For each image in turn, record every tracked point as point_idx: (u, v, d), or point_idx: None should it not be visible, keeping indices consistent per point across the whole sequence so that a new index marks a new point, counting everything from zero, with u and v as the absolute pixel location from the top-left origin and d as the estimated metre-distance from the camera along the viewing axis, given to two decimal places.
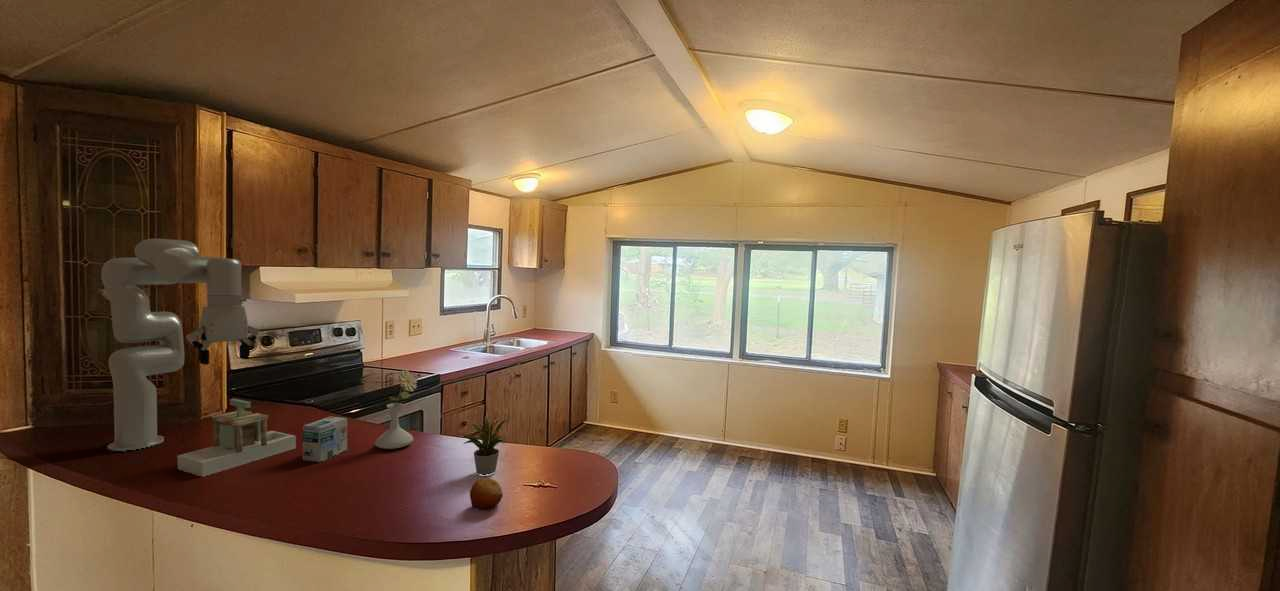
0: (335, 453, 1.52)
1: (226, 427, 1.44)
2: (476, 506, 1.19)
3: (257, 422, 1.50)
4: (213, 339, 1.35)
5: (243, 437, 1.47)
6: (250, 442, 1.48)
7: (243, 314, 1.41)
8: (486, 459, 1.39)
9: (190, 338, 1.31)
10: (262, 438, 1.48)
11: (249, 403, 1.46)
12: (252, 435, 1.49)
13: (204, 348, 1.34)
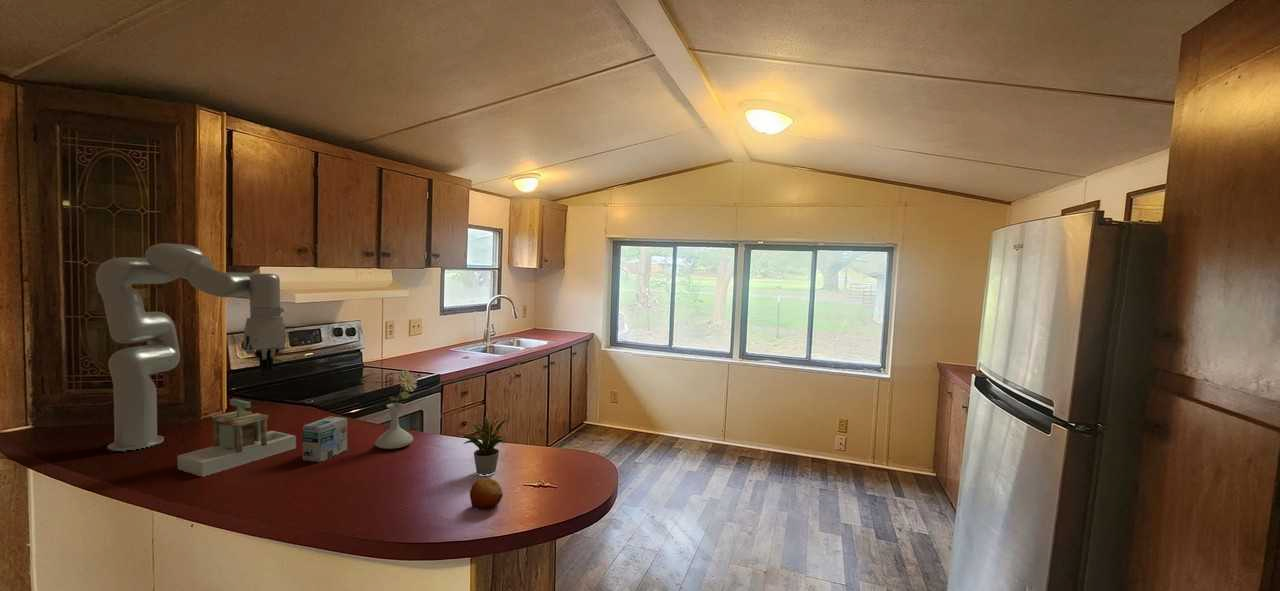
0: (335, 453, 1.52)
1: (226, 427, 1.44)
2: (476, 506, 1.19)
3: (257, 422, 1.50)
4: (257, 347, 1.49)
5: (243, 437, 1.47)
6: (250, 442, 1.48)
7: (282, 324, 1.56)
8: (486, 459, 1.39)
9: (251, 353, 1.49)
10: (262, 438, 1.48)
11: (249, 403, 1.46)
12: (252, 435, 1.49)
13: (265, 357, 1.52)
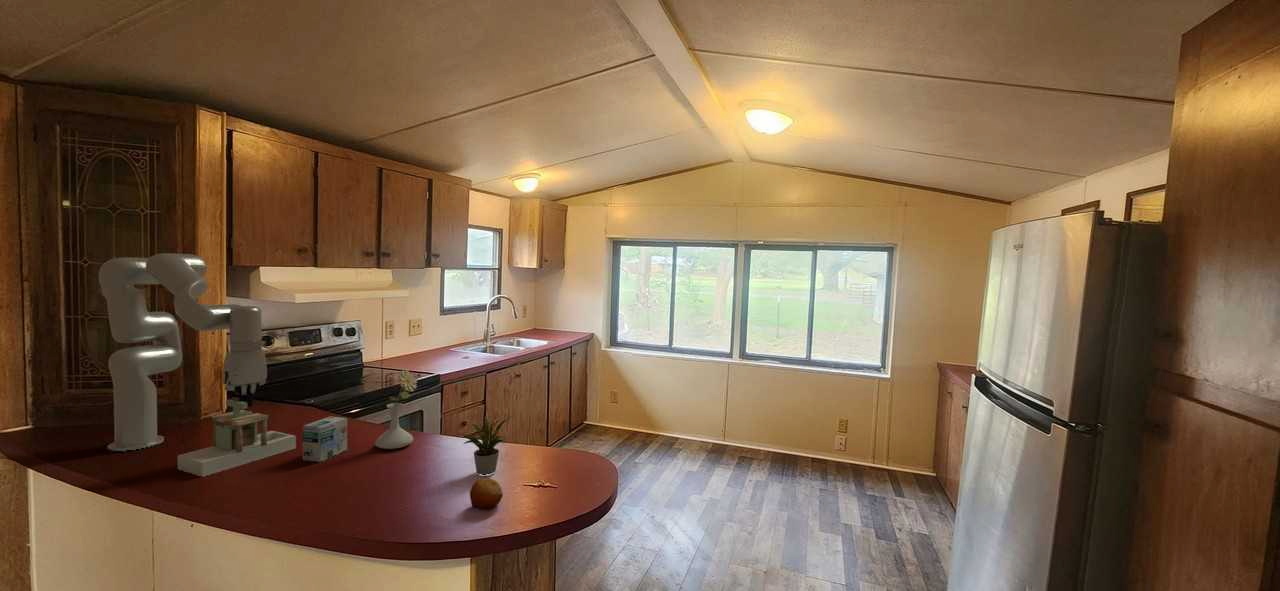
0: (335, 453, 1.52)
1: (222, 428, 1.44)
2: (476, 506, 1.19)
3: (254, 423, 1.49)
4: (236, 383, 1.45)
5: (242, 437, 1.46)
6: (249, 442, 1.48)
7: (263, 358, 1.51)
8: (486, 459, 1.39)
9: (230, 389, 1.44)
10: (262, 438, 1.48)
11: (246, 404, 1.45)
12: (251, 435, 1.49)
13: (244, 393, 1.48)
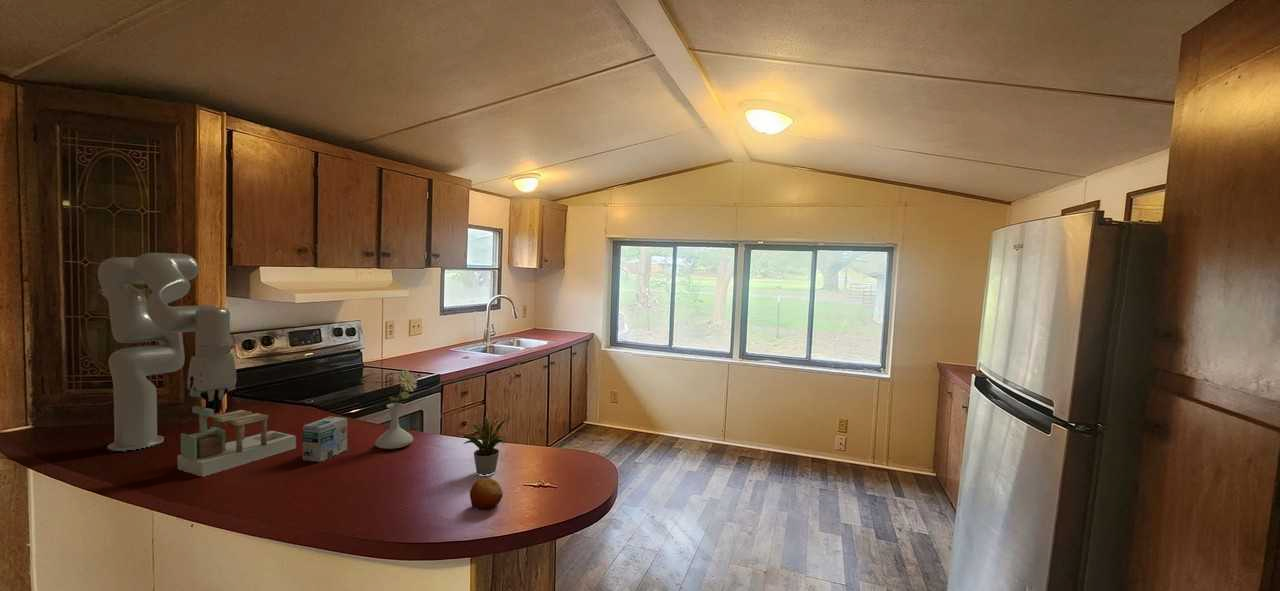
0: (335, 453, 1.52)
1: (187, 436, 1.36)
2: (476, 506, 1.19)
3: (222, 431, 1.41)
4: (202, 389, 1.37)
5: (208, 446, 1.38)
6: (216, 451, 1.40)
7: (231, 362, 1.43)
8: (486, 459, 1.39)
9: (195, 395, 1.37)
10: (262, 438, 1.48)
11: (212, 411, 1.38)
12: (218, 444, 1.41)
13: (211, 399, 1.40)
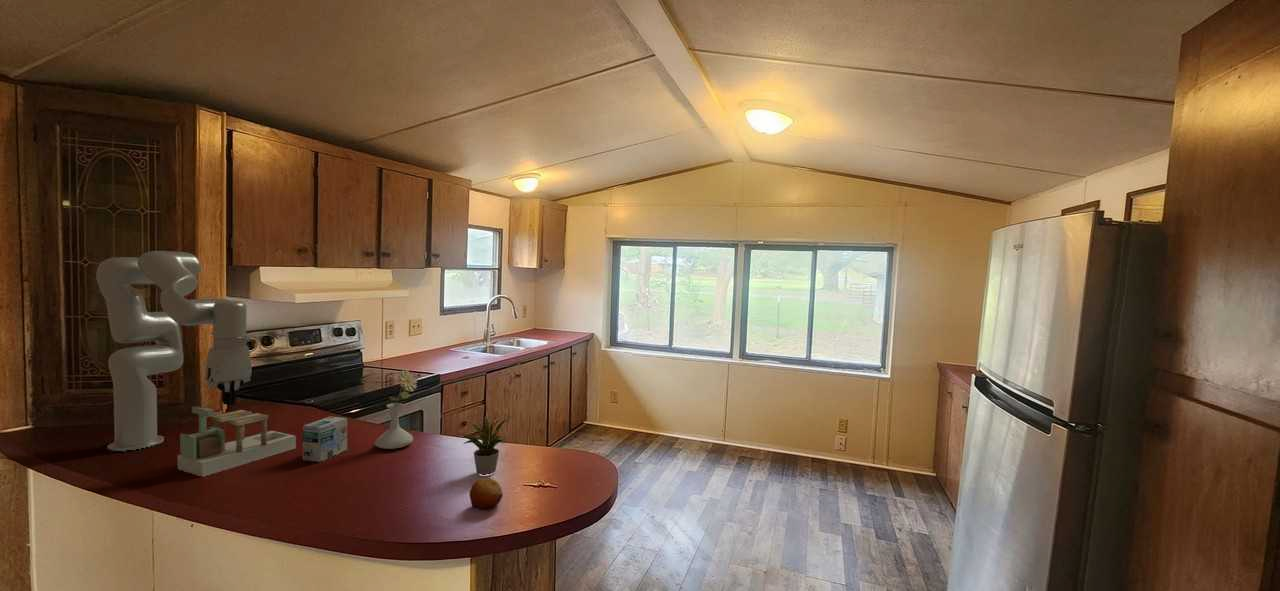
0: (335, 453, 1.52)
1: (187, 436, 1.36)
2: (476, 506, 1.19)
3: (221, 431, 1.41)
4: (218, 380, 1.41)
5: (208, 446, 1.38)
6: (216, 451, 1.40)
7: (247, 354, 1.47)
8: (486, 459, 1.39)
9: (212, 386, 1.41)
10: (262, 438, 1.48)
11: (212, 411, 1.38)
12: (218, 444, 1.41)
13: (227, 390, 1.44)
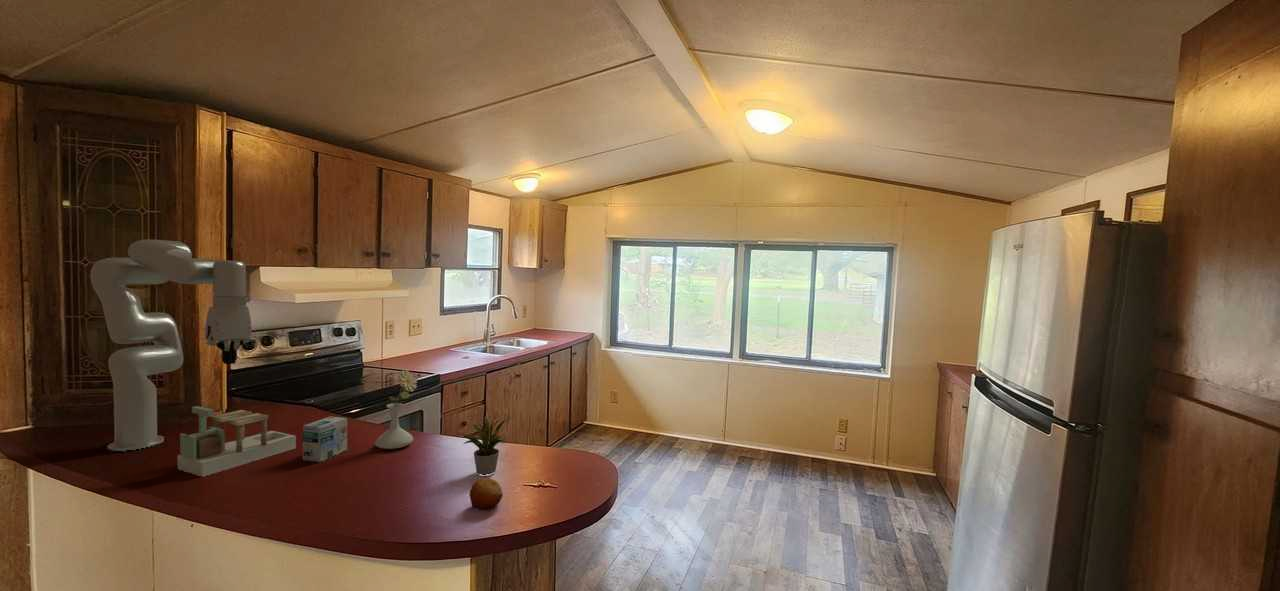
0: (335, 453, 1.52)
1: (187, 436, 1.36)
2: (476, 506, 1.19)
3: (221, 431, 1.41)
4: (218, 338, 1.41)
5: (208, 446, 1.38)
6: (216, 451, 1.40)
7: (247, 314, 1.47)
8: (486, 459, 1.39)
9: (212, 344, 1.41)
10: (262, 438, 1.48)
11: (212, 411, 1.38)
12: (218, 444, 1.41)
13: (227, 349, 1.44)
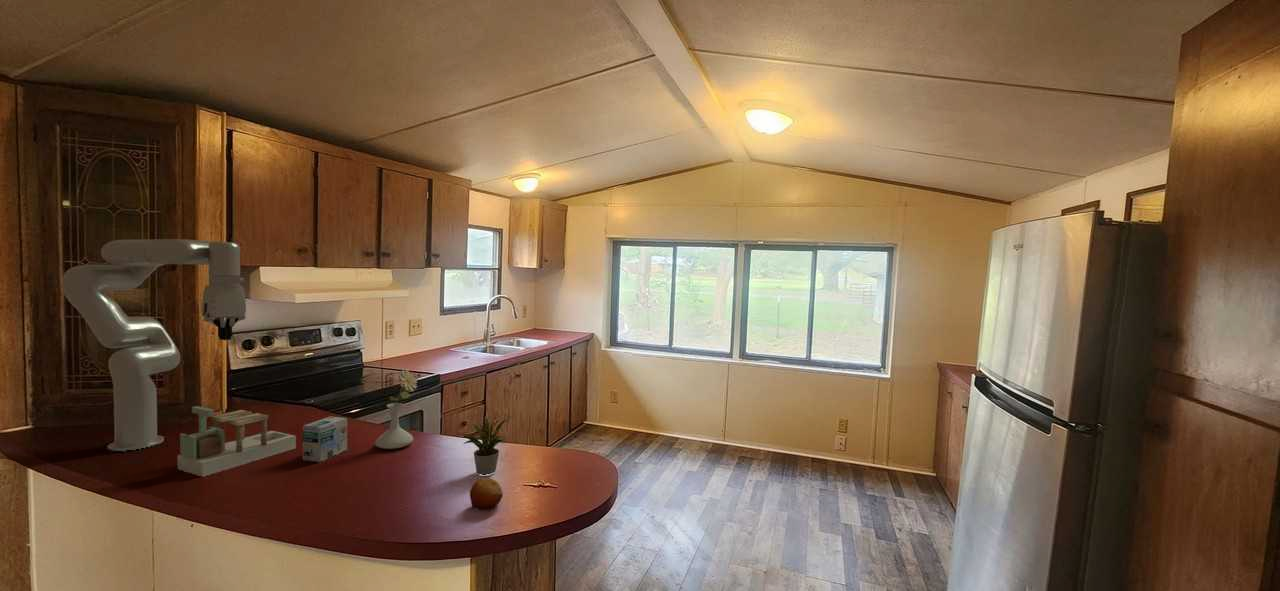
0: (335, 453, 1.52)
1: (187, 436, 1.36)
2: (476, 506, 1.19)
3: (221, 431, 1.41)
4: (214, 315, 1.49)
5: (208, 446, 1.38)
6: (216, 451, 1.40)
7: (241, 293, 1.55)
8: (486, 459, 1.39)
9: (209, 321, 1.49)
10: (262, 438, 1.48)
11: (212, 411, 1.38)
12: (218, 444, 1.41)
13: (223, 325, 1.52)
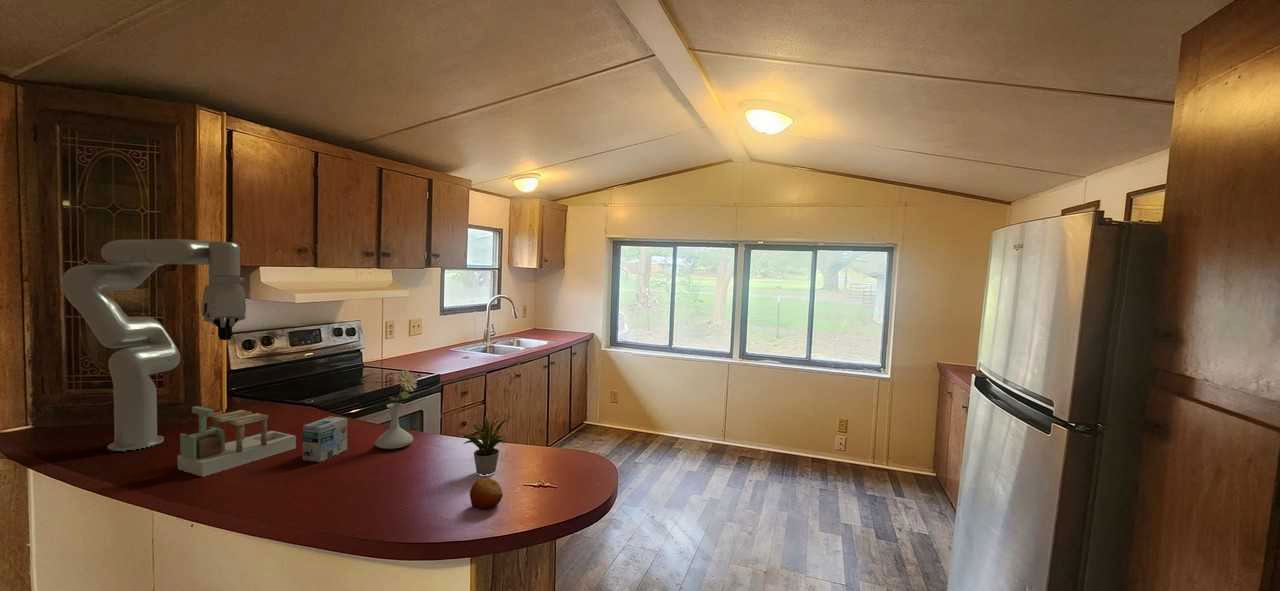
0: (335, 453, 1.52)
1: (187, 436, 1.36)
2: (476, 506, 1.19)
3: (221, 431, 1.41)
4: (214, 315, 1.49)
5: (208, 446, 1.38)
6: (216, 451, 1.40)
7: (241, 293, 1.56)
8: (486, 459, 1.39)
9: (209, 321, 1.49)
10: (262, 438, 1.48)
11: (212, 411, 1.38)
12: (218, 444, 1.41)
13: (223, 325, 1.52)
